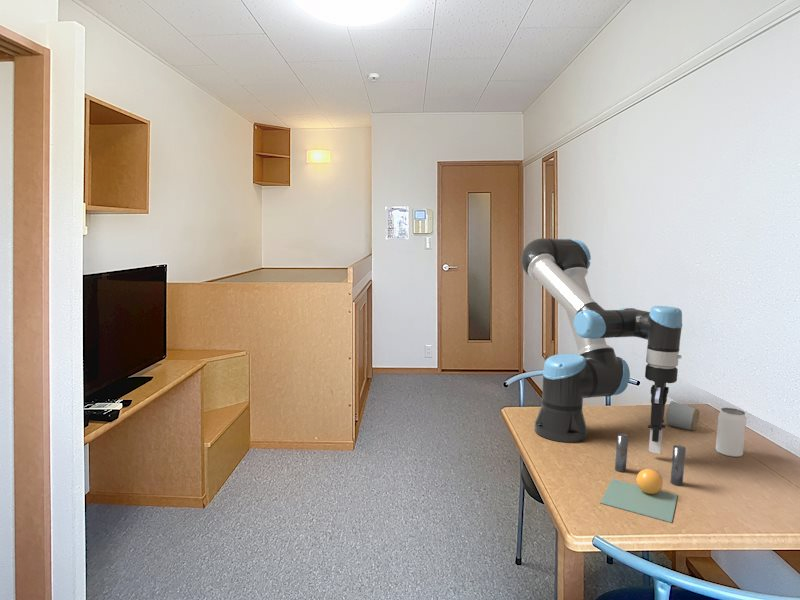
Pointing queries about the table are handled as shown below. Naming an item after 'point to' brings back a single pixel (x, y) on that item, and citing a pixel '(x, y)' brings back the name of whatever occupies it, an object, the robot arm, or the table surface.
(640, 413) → the table surface
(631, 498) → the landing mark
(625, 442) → the post left
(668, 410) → the grey lying cylinder
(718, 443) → the can
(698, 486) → the table surface
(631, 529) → the table surface
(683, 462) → the post right
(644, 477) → the ball
